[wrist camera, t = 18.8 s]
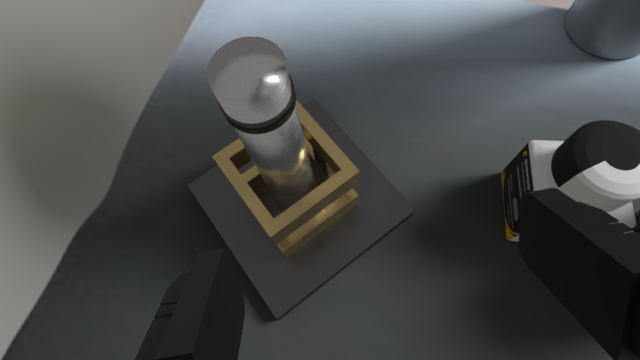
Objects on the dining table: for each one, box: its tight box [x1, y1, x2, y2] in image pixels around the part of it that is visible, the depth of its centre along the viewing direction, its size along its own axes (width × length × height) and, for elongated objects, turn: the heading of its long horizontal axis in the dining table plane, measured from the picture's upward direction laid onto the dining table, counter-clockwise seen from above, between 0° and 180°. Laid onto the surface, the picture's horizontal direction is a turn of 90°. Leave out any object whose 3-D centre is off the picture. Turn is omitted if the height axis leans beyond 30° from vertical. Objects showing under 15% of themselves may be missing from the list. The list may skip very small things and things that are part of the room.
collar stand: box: [187, 99, 415, 320], centre depth 35 cm, size 16×16×10 cm
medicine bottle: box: [501, 120, 640, 242], centre depth 32 cm, size 7×7×12 cm
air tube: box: [207, 37, 316, 212], centre depth 29 cm, size 4×4×20 cm
